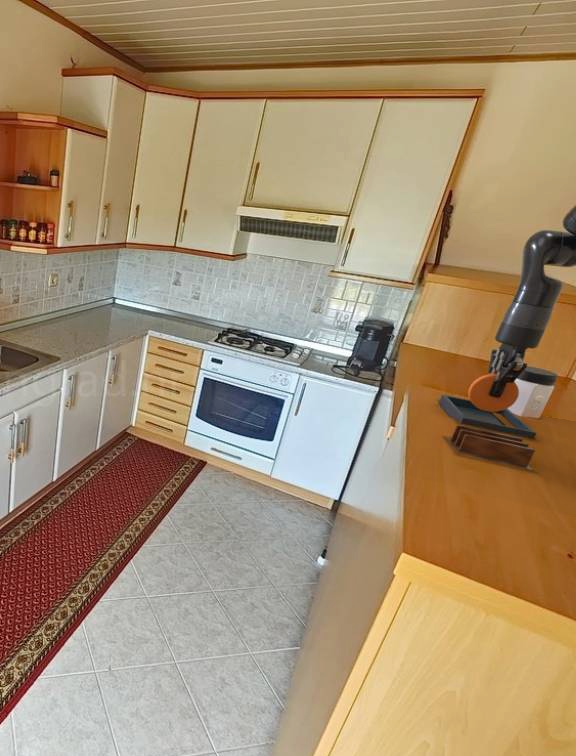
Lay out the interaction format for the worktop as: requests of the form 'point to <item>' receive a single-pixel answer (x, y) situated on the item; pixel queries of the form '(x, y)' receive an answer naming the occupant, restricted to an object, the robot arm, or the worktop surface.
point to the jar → (533, 391)
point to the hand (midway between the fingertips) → (492, 394)
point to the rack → (491, 446)
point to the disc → (485, 402)
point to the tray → (484, 417)
